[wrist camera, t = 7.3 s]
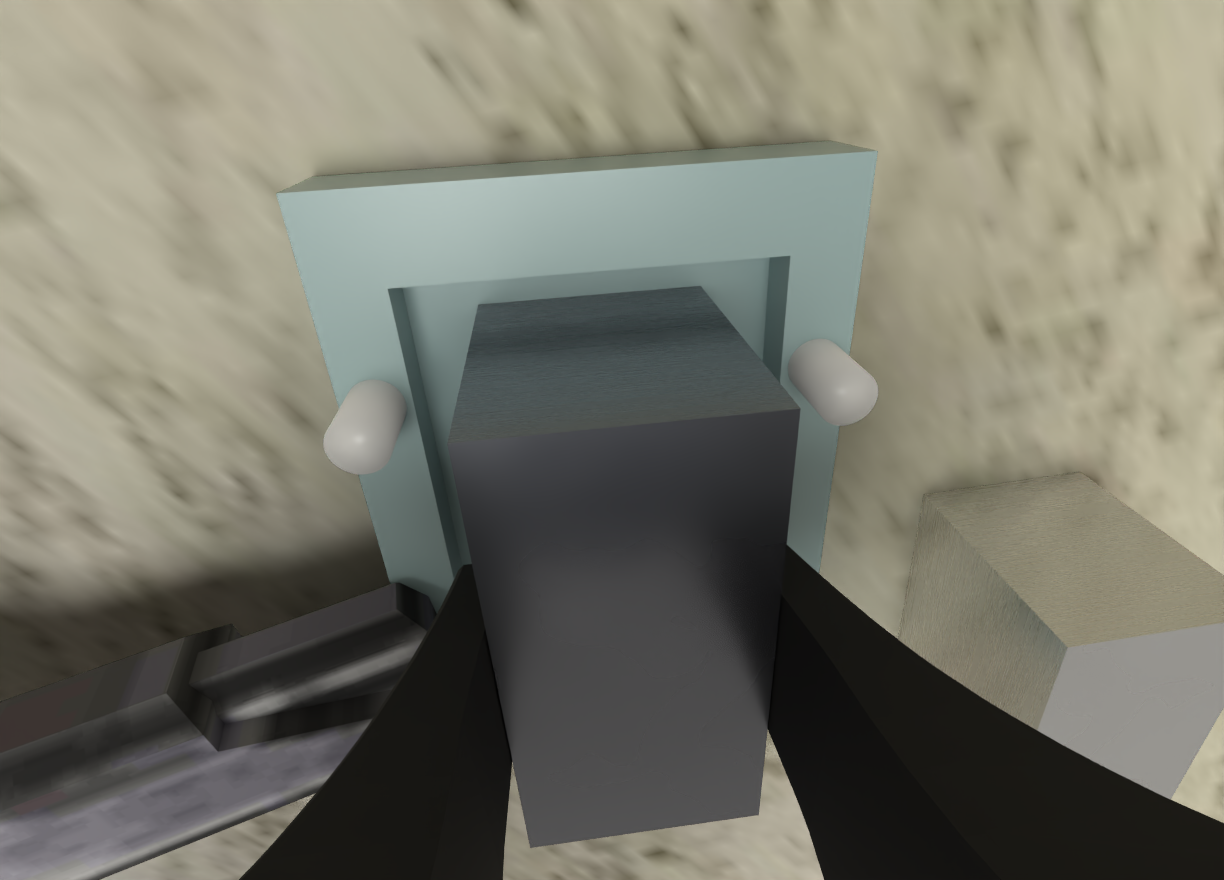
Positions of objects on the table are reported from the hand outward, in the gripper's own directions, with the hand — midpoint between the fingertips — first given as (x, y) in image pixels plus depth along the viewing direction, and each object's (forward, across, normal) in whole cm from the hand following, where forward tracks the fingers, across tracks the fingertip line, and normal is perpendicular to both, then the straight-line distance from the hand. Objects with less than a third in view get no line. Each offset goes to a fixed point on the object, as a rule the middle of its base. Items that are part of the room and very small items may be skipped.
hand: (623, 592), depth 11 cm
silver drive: (+4, -10, +6) cm, 12 cm away
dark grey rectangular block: (+3, 0, 0) cm, 3 cm away
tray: (+4, 0, 0) cm, 4 cm away
